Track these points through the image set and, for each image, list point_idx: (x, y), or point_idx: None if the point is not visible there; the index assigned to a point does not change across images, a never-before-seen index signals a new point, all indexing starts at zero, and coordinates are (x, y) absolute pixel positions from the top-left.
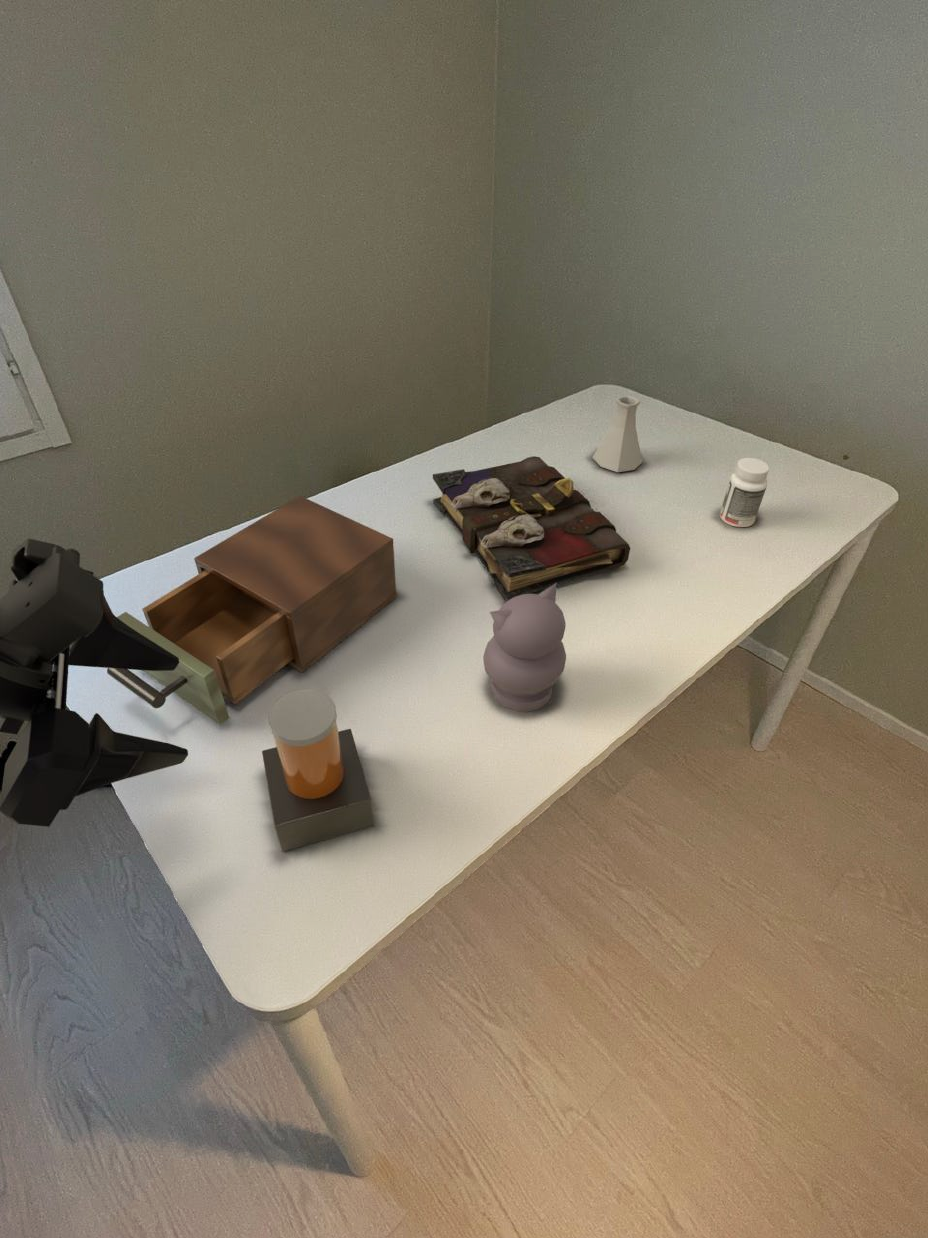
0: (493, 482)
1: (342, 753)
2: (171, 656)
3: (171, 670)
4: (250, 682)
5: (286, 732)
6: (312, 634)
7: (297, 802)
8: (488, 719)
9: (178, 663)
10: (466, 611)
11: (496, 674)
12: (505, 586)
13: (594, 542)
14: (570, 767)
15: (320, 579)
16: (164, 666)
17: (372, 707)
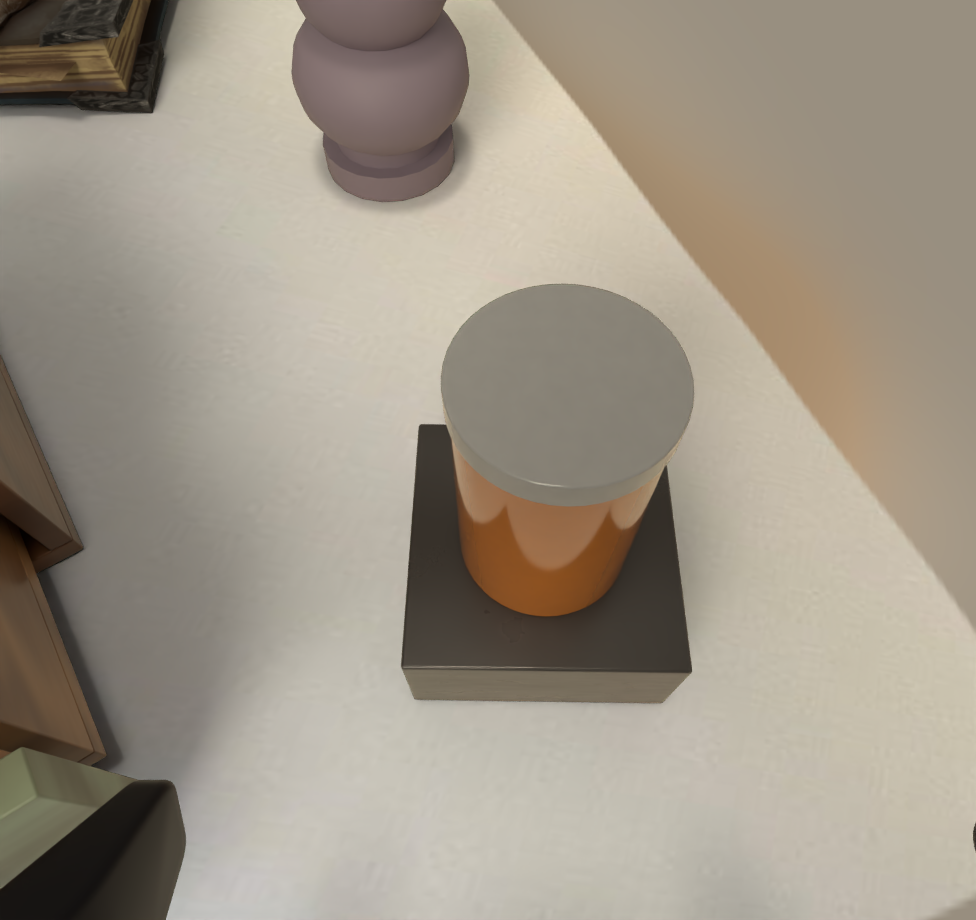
0: None
1: None
2: (125, 817)
3: (180, 859)
4: (61, 680)
5: (645, 437)
6: (2, 447)
7: (624, 597)
8: (442, 226)
9: (174, 790)
10: (121, 176)
11: (413, 110)
12: (108, 88)
13: None
14: (602, 153)
15: None
16: (153, 899)
17: (300, 413)
